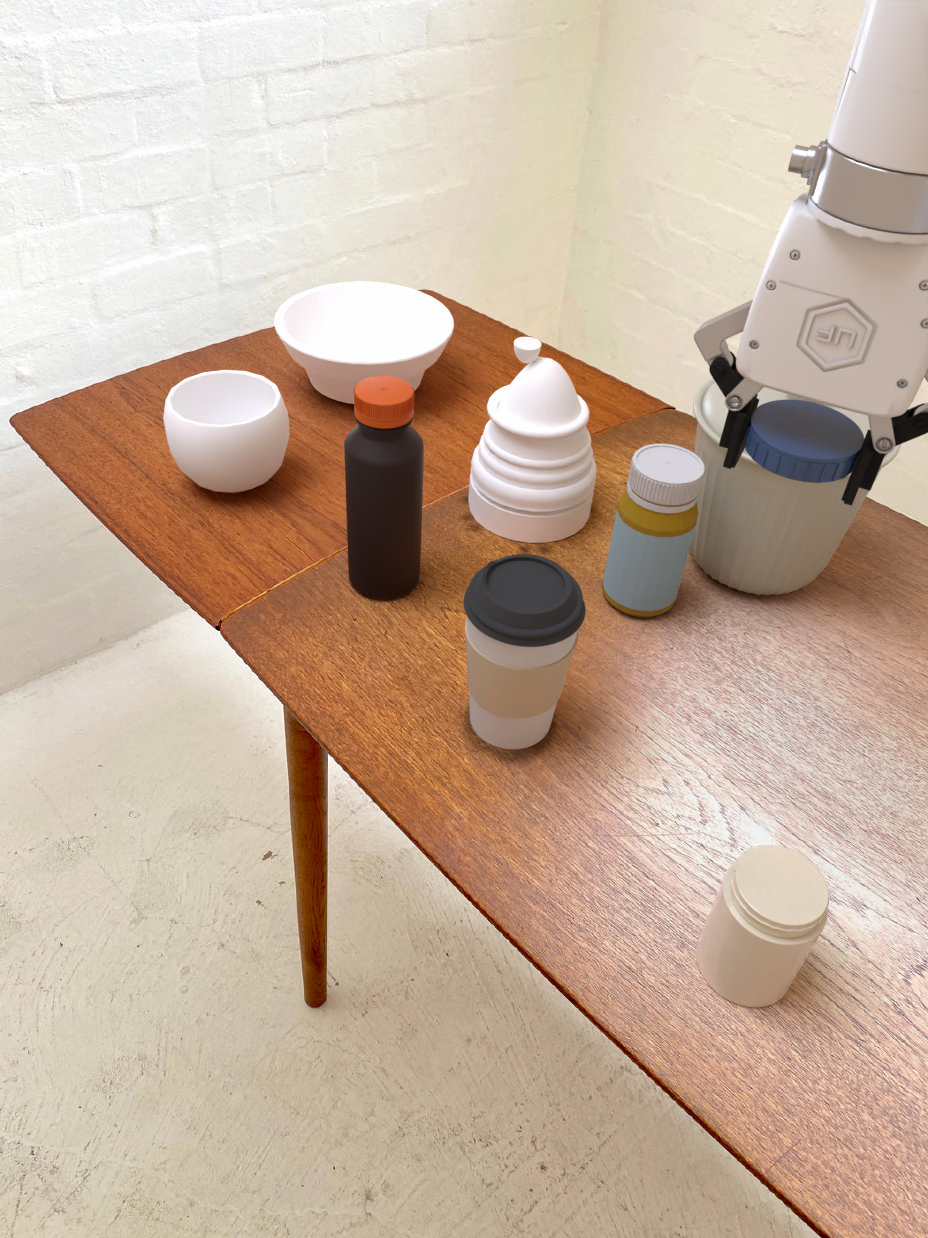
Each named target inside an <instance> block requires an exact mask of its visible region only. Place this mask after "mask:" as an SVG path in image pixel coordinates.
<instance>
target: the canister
mask: <svg viewBox="0 0 928 1238" xmlns="http://www.w3.org/2000/svg"><path fill="white" fill-rule="evenodd" d="M757 394H758V396H757V399H759V403H758V406H757V407H759V406H760V405H762V404H764V403H767V402H770V401H775V400H802V401H808V402H813V403H817V404H821V405H824V406H827V407H829V408H832V409H834V410H836V411H838V412H840V413H842V414H844V415H845V416H847V417H849V418H850V419H851V420H852V421H854V422H855V423H856V424H857V425H858V427H859V428H860V429H861V431H862V433H863V435H864V439H865V436H866V433H867V431H868V430H870V424H869V419H868V415H864V414H860V413H856V412H852V411H848V410H845V409H841V408H837V407H833V406H830V405H826V404H822V403H819V402H815V401H812V400H808V399H804V398H801V397H797V396H794V395H790V394H786V393H783V392H779V391H776V390H772V389H769V388H766V387H763V388H762V389H761V390H760V391H759V392H758V393H757ZM725 399H726V398H725V396H724V395H723V393H722V391H721V390H720V388H719V387H718V385H717V384H716V382H715V380H714V379H713V377H712V378H710V379H709V380H707V381H706V382H704V384H702V385H701V386H700V387H699V388H698V390H697V392H696V393H695V395H694V399H693V404H692V408H693V414H694V417H695V420H696V422H697V425H696V432H695V438H694V439H695V440H694V446H693V447H694V448H693V453H694V454H696V455H697V456H698V457H699V458H700V459H701V460H702V462H703V464H704V470H705V471H704V472H705V473H704V476H703V480H702V484H701V488H700V492H699V495H698V499H697V507H698V517H697V522H696V526H695V530H694V533H693V537H692V541H691V545H690V548H689V552H690V553H691V555H692V558H693V560H694V561H695V562H696V563H697V565H698V566H699V568H701V569H702V570H703V572H704V573H705V574H707V575H709V576H710V577H711V578H712V579H713V580H716V581H718V582H719V584H722V585H726V586H727V587H728V588H733V589H735V590H737V591H739V592H740V591H741V592H745V593H746V594H755V595H757V596H759V595H765V596H770V595H774V596H778V595H781V594H789V593H791V592H797V591H798V590H800V589H803V588H805V587H807V586H808V585H809V584H810V583H811V582H813V581H814V580H816V579H817V578H818V576H820V574H821V573H822V572H823V571H824V569H825V568H826V567H827V565H828V564H829V563H830V561H831V559H832V557H833V556H834V554H835V552H836V551H837V549H838V547H839V546H840V545H841V542H842V540H843V539H844V537H845V535H846V534H847V532H848V530H849V529H850V527H851V525H852V523H853V522H854V520H855V518H856V516H857V515H858V512H859V510H860V509H861V507H862V505H863V503H864V501H865V500H866V498H867V496H868V494H869V492H870V491H869V490H865V489H862V488H859V489H858V492H857V494H856V497H855V499H854V502H853V504H852V506H851V505H847V504H844V501H842V500H841V499H842V496H843V494H844V491H845V488H846V485H847V482H848V480H849V477H850V474H851V473H850V474H849V475H848V476H846V477H845V478H843V479H840V480H837V481H833V482H825V483H810V482H801V481H797V480H792V479H788V478H785V477H782V476H780V475H777V474H774V473H772V472H770V471H769V470H767V469H765V468H763V467H762V466H760V465H759V464H758V463H756V462H755V461H754V460H753V459H752V458H751V457H750V456H749V454H748V453H747V451H746V450H745V449H744V451H743V453H742V455H741V457H740V458H739V460H738V462H737V464H736V466H735V468H733V467H732V468H731V469H728V468H725V467H723V464H724V460H725V457H726V453H727V450H728V449H727V448H724V447H721V446H719V443H720V439H721V435H722V432H723V428H724V425H725V421H726V417H727V414H728V410H729V409H728V408H727V407H726V405H725ZM901 446H902V444H900V445H897V446H895V447H894V449H893V450H892V451H891V452H889V453H886V454H885V457H884V459H883V461H882V464H881V466H880V469H879V471H878V474H877V476H876V478H875V481H876V480H877V478H878V476H879V474H880V472H881V470H882V468H883V469H884V467H886V466H887V465H889V464H890V463H891V462H893V460H894V459H895V458H896V457H897V455H898V454H899V453H900V450H901ZM875 481H874V483H875Z"/></svg>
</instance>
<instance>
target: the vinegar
mask: <svg viewBox="0 0 928 1238" xmlns="http://www.w3.org/2000/svg"><path fill="white" fill-rule="evenodd" d="M353 407H354V409H353V411H354V412H353V413H354V417H355V418H354V420H355V422H356V423H357V425H356V426H355V427H354V428H352V429H351V430H350V431H349V432H348V433H347V435H346V438H345V439H344V442H343V449H344V451H343V452H344V453H343V454H344V482H345V483H344V484H345V509H346V510H345V511H346V513H345V515H346V539H347V540H346V541H347V542H346V543H347V571H348V572H347V573H348V580H349V582H350V584H351V587H353V589H354V590H355V591H357V592H358V593H359V594H361V595H362V596H366V597H368V598H371V599H376V600H393V599H397V598H400V597H403V596H405V595H407V594H409V593H411V592H412V591H413V590H414V589H415V588H416V587H417V586H418V583H419V580H420V577H421V559H422V557H421V556H422V529H423V525H422V523H423V498H424V497H423V496H424V495H423V494H424V493H423V492H424V466H425V465H424V462H425V460H424V459H425V445H424V440H423V437H422V436H421V434H419V433H418V431H417V430H416V429H415V428H414V427H413V426H411V425H412V423H413V421H414V415H415V391H414V389H413V387H412V386H411V385H410V384H409V383H408V382H406V381H405V380H403V379H400V378H397V377H392V376H374V377H369V378H366V379H364V380H362V381H360V382H359V383H358V384H357V385H356V386H355V387H354V404H353Z"/></svg>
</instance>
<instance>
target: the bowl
mask: <svg viewBox="0 0 928 1238" xmlns="http://www.w3.org/2000/svg"><path fill="white" fill-rule="evenodd" d="M273 325H274V329H275V332H276V334H277V336H278V337H279V339H280V340H281V343H282V344H283V346H284V347H285V349H286V351H287V352H288V355H289V356H290V357H291V359H292V360H293V361H294V362H295V363H296V364H297V365H299V366H300V367H301V368H304V369H305V372H306V374H307V377H308V379H309V382H310V384H311V386H313V388H314V389H315V390H316V391H317V392H319V393H320V394H321V395H323V396H325V397H327V398H329V399H332V400H334V401H337V402H341V403H345V404H351V405H354V387H355V386H356V385H357V384H358V383H359V382H360V381H362V380H364V379H366V378H369V377H374V376H392V377H397V378H400V379H403V380H405V381H406V382H408V383H409V384H410V385H411V386H412V387H413V389H414V392H415V391H416V390H417V389H418V388H419V386H420V385H421V383H422V379H423V377H424V375H425V373H426V370H428V368H430V367H432V366H433V365H434V364H435V363H436V362H437V361H438V360H439V358H440V357H441V355H442V354H443V352H444V350H445V348H446V346H447V345H448V342H449V341H450V339H451V338H452V335H453V333H454V329H455V321H454V317H453V315H452V313H451V311H450V310H449V308H448V307H447V306H445V304H443V303H442V302H441V301H439V300H438V299H437V298H434V297H433V296H431V295H429V294H427V293H424V292H423V291H421V290H418V289H414V288H410V287H408V286H402V285H399V284H392V283H387V282H378V281H346V282H343V281H342V282H336V283H329V284H324V285H320V286H316V287H315V286H314V287H312V288H309V289H307V290H304V291H302V292H299V293H297V294H295V295H293V296H292V297H290V298H288V299H287V300H286V301H284V302H283V303H282V304H281V305H280V307H279V308H278V309H277V310H276V313H275V315H274V320H273Z"/></svg>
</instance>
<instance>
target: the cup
mask: <svg viewBox="0 0 928 1238" xmlns="http://www.w3.org/2000/svg"><path fill="white" fill-rule="evenodd" d="M164 401H165V402H164V409H163V417H162V420H163V426H164V432H165V436H166V441H167V446H168V449H169V452H170V454H171V457H172V458H173V460H174V462H175V463H176V465H177V467H178V470H179V471H181V472H182V473H183V474H184V475H185V476H187V477H188V478H189V479H190V480H191V481H193V482H194V483H195V484H197V485H198V486H199V487H201V488H204V489H207V490H210V491H213V492H220V493H221V492H222V493H226V494H227V493H228V494H237V493H243V492H246V491H249V490H252V489H255V488H257V487H260V486H262V485H264V484H266V483H267V482H269V480H270V479H271V478H272V477H273V476H274V475H275V474H276V473H277V472H278V470H279V469H280V468H281V467H282V466H283V463H284V459H285V456H286V451H287V447H288V444H289V440H290V436H291V433H290V431H291V430H290V419H289V411H288V409H287V407H286V404H285V402H284V398H283V397H282V394H281V392H280V389H279V388H278V385H277V384H276V383H274V382H273V381H271V380H270V379H268V378H267V377H265V376H264V375H261V374H257V373H253V372H249V371H246V370H236V369H235V370H232V369H221V370H212V371H204V372H201V373H198V374H195V375H191V376H189V377H186V378H184V379H183V380H181V381H180V382H179V383H177V384H176V385H174V386H172V387H171V389H170V390H169V392H168V394H167V397H166V398H165V400H164Z"/></svg>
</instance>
